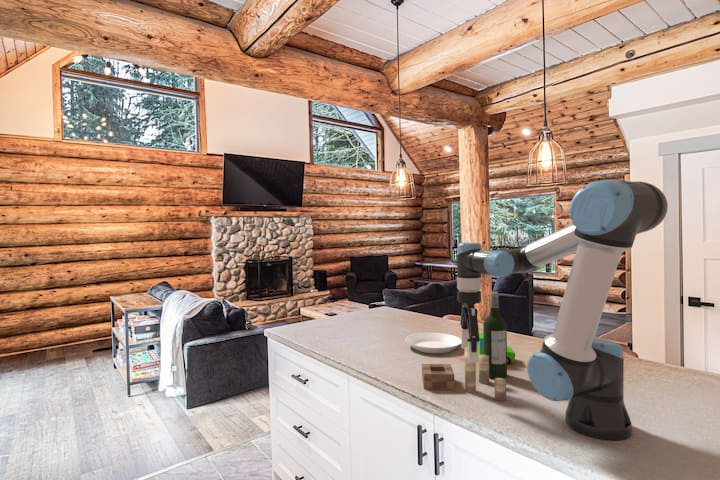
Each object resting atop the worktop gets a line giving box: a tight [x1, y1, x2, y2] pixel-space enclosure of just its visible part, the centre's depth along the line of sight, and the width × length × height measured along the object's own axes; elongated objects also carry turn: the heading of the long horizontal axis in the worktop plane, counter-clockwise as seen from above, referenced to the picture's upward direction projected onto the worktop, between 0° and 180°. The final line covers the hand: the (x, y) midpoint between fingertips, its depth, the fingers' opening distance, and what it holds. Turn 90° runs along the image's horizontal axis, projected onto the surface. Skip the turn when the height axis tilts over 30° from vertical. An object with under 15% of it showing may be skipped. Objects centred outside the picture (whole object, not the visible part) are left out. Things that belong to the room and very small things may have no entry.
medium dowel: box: [478, 355, 490, 385], centre depth 138 cm, size 3×3×9 cm
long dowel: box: [464, 347, 477, 394], centre depth 130 cm, size 3×3×14 cm
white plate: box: [405, 332, 462, 354], centre depth 180 cm, size 25×25×4 cm
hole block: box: [421, 363, 456, 390], centre depth 137 cm, size 10×10×5 cm
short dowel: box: [493, 378, 507, 402], centre depth 124 cm, size 3×3×6 cm
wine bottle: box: [482, 291, 508, 380], centre depth 143 cm, size 8×8×30 cm
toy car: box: [478, 332, 516, 366], centre depth 159 cm, size 10×13×10 cm
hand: (469, 354), depth 130 cm, fingers open, 13 cm apart
